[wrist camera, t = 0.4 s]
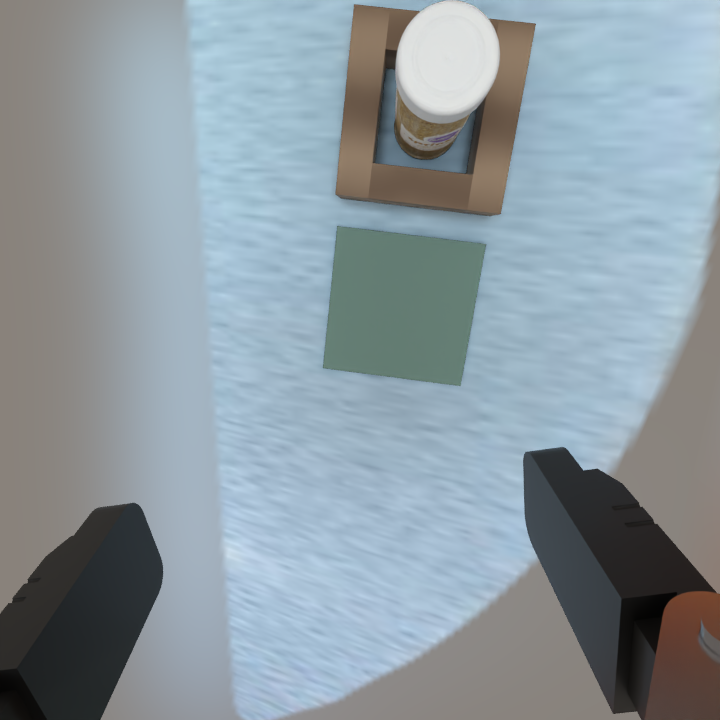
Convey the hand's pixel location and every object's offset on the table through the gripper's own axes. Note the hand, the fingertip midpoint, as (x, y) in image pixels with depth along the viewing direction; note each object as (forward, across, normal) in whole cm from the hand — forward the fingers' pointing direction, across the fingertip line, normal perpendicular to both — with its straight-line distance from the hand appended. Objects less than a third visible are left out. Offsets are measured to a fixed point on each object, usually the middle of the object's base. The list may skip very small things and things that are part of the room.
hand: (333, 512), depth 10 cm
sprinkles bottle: (+29, -7, -9) cm, 31 cm away
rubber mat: (+28, -4, +4) cm, 28 cm away
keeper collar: (+29, -7, -9) cm, 31 cm away
